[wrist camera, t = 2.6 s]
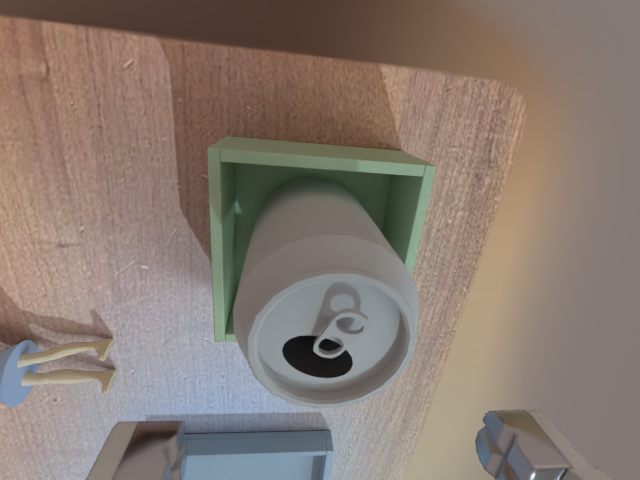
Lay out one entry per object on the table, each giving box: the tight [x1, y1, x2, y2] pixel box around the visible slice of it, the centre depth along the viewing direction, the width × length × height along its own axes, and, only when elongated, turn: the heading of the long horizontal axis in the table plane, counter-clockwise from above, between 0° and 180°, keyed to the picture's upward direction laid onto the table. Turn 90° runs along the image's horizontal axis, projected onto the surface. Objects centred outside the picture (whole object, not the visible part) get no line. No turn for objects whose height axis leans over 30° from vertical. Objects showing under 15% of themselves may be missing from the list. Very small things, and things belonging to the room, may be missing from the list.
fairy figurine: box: [0, 339, 116, 407], centre depth 23 cm, size 12×5×12 cm
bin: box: [207, 136, 436, 342], centre depth 20 cm, size 11×11×5 cm
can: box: [233, 177, 420, 408], centre depth 17 cm, size 8×8×12 cm
